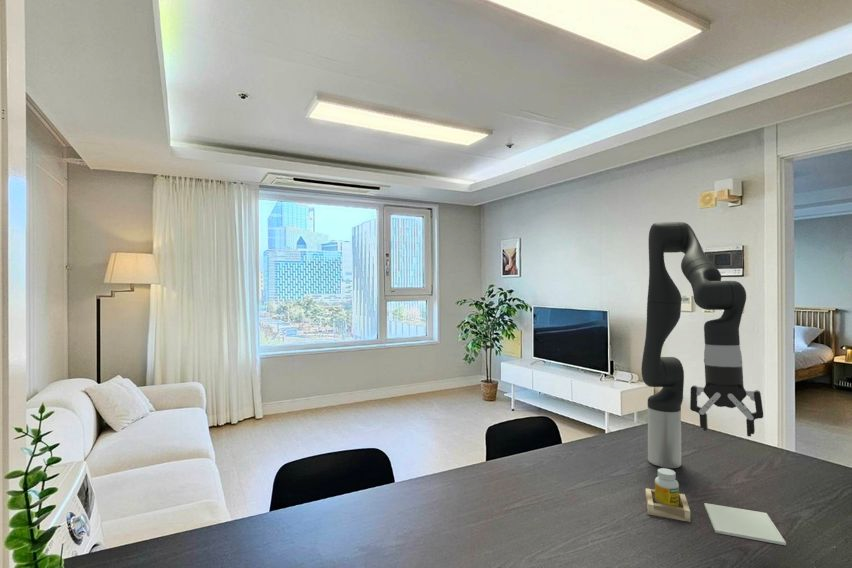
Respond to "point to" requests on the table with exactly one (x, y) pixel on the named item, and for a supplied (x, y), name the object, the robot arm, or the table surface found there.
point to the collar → (667, 507)
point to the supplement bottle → (666, 488)
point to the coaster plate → (743, 523)
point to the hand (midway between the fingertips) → (726, 432)
